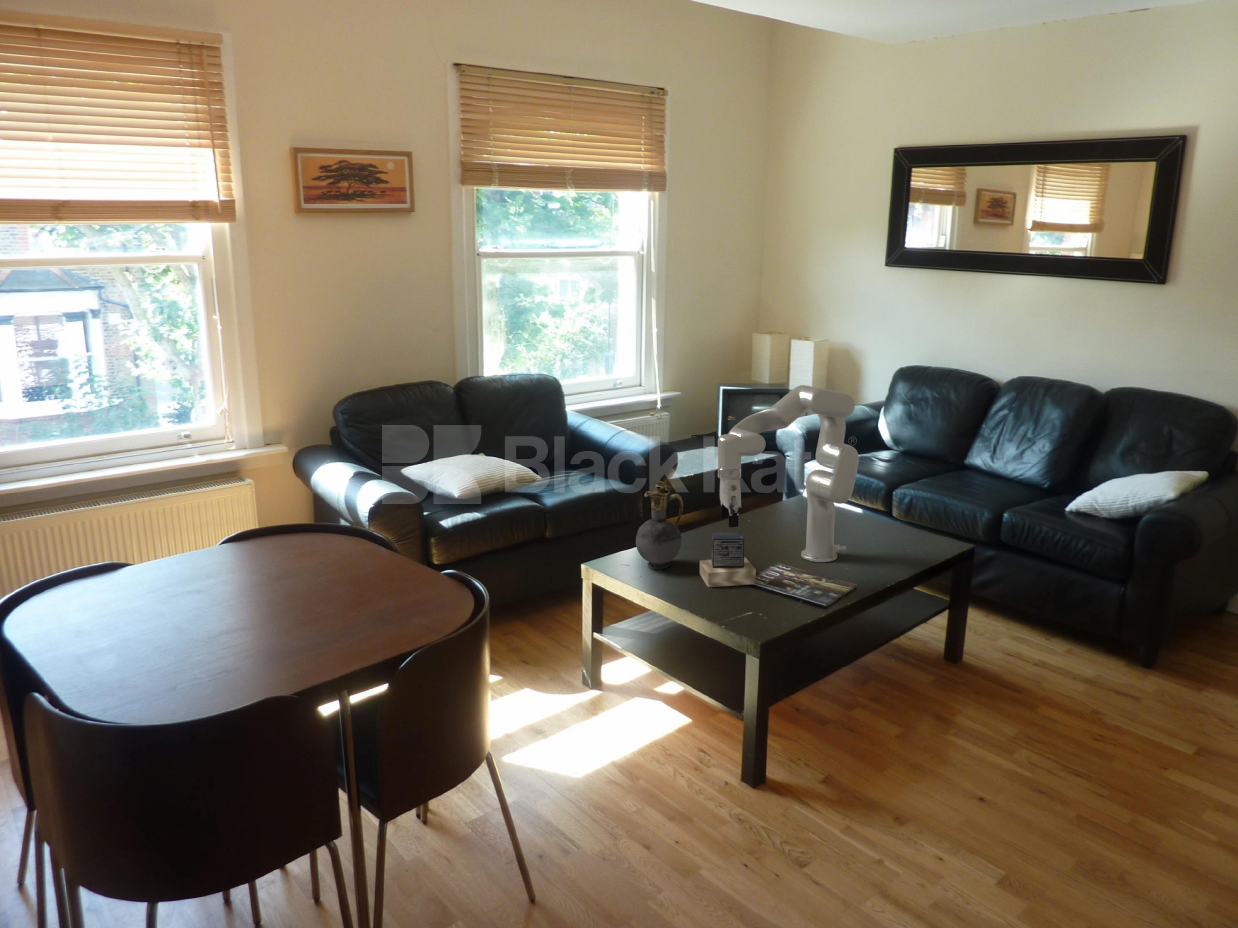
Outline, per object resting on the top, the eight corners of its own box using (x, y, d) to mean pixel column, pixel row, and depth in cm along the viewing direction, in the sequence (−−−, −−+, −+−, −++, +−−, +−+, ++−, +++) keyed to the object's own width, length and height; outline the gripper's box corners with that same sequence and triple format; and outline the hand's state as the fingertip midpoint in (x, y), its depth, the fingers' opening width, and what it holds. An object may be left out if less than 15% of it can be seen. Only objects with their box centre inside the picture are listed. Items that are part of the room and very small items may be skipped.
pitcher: (631, 566, 328) (630, 484, 320) (671, 554, 339) (672, 474, 332) (652, 575, 320) (652, 490, 312) (692, 562, 331) (693, 480, 324)
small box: (742, 561, 318) (743, 531, 315) (744, 568, 312) (745, 538, 309) (711, 561, 318) (711, 531, 316) (712, 568, 312) (712, 538, 309)
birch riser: (744, 571, 323) (745, 557, 322) (755, 583, 311) (755, 569, 310) (699, 574, 320) (699, 560, 319) (708, 587, 309) (708, 572, 308)
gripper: (748, 478, 299) (747, 529, 303) (733, 464, 315) (733, 513, 320) (725, 480, 298) (725, 531, 302) (711, 466, 314) (711, 515, 319)
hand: (729, 522), depth 311 cm, fingers open, 9 cm apart
